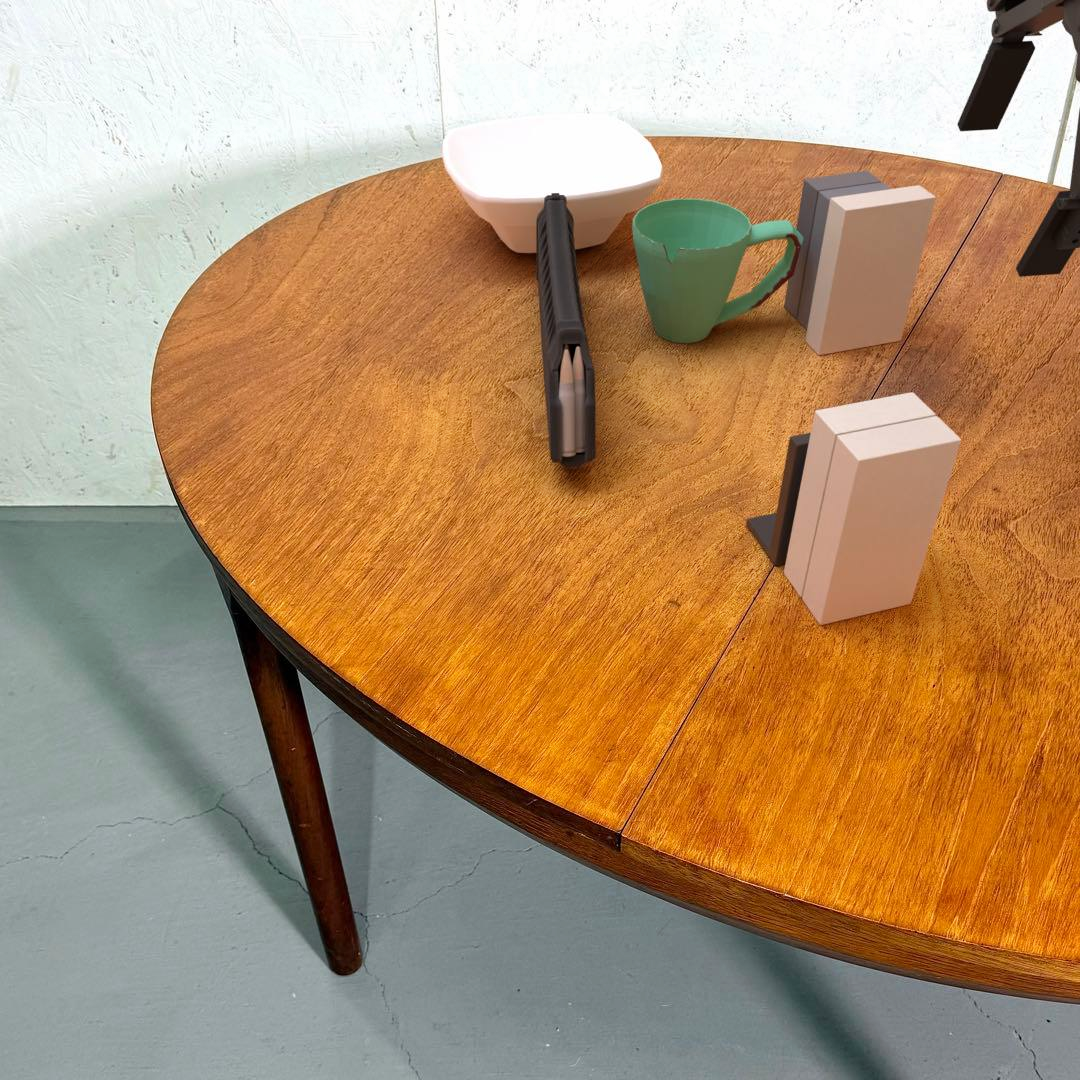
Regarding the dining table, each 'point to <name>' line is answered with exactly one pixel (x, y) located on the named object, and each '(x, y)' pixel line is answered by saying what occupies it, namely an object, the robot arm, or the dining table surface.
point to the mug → (702, 264)
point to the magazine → (564, 339)
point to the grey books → (819, 232)
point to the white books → (859, 505)
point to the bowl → (552, 173)
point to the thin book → (868, 268)
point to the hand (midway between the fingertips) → (1005, 196)
